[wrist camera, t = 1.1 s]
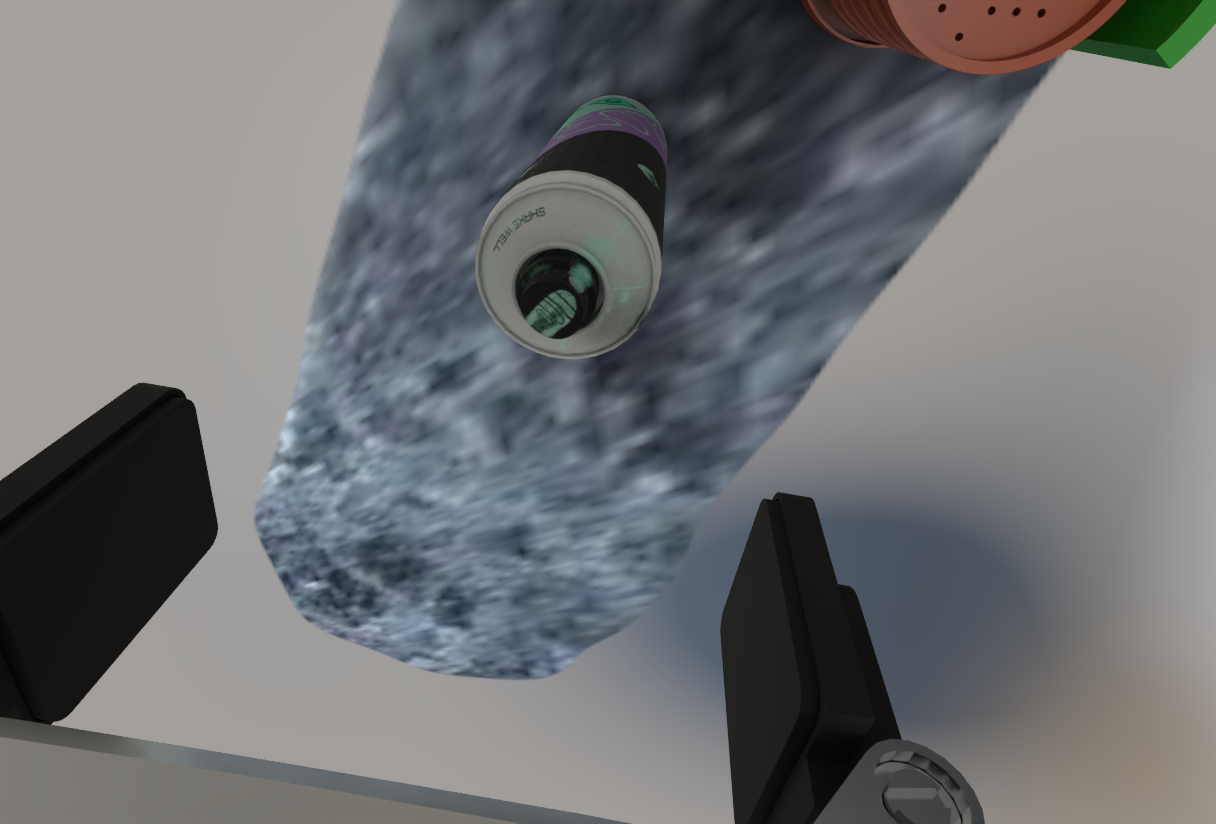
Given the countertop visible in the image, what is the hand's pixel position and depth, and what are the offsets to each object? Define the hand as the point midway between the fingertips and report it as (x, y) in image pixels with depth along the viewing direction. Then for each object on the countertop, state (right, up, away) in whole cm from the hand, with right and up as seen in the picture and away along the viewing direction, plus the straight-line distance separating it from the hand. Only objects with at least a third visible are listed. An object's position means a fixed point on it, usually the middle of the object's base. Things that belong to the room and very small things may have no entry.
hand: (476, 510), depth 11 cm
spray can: (+2, +15, +23) cm, 28 cm away
